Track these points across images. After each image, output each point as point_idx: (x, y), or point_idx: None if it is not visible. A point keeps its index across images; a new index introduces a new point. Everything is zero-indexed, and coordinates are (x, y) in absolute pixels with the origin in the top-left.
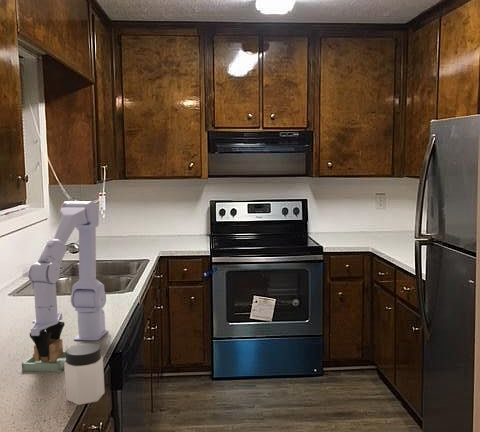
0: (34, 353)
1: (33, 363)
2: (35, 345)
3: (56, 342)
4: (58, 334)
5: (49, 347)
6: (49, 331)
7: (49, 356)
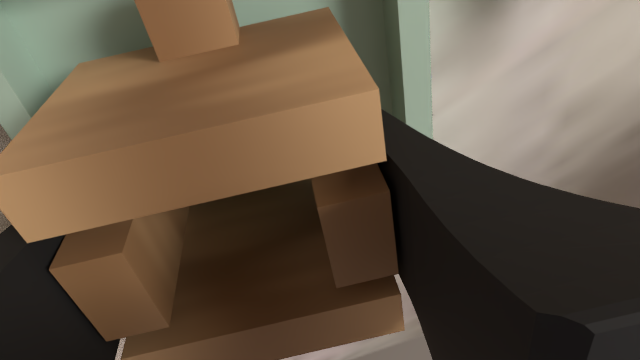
0: (39, 114)
1: (5, 113)
2: (7, 201)
3: (274, 348)
4: (432, 352)
5: (128, 344)
6: (448, 292)
7: (184, 213)
